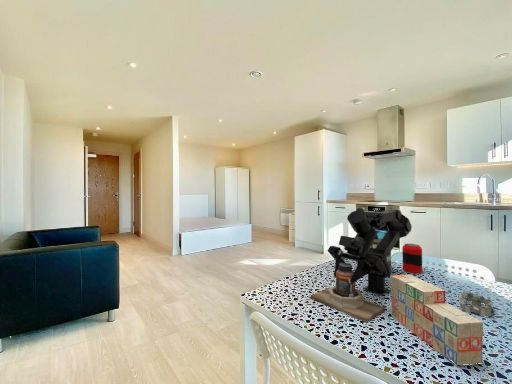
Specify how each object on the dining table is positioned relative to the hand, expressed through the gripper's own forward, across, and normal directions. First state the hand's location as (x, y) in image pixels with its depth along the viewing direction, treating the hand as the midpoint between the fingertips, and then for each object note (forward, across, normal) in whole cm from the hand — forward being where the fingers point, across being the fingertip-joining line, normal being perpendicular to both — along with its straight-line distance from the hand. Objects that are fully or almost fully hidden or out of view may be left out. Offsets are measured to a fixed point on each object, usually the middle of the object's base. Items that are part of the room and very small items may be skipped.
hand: (342, 279), depth 78 cm
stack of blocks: (+3, +23, +9) cm, 25 cm away
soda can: (-32, -4, +45) cm, 55 cm away
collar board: (+5, 0, +7) cm, 8 cm away
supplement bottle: (+4, 0, +6) cm, 7 cm away
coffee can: (-23, -13, +36) cm, 45 cm away
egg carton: (-16, +24, +30) cm, 41 cm away
